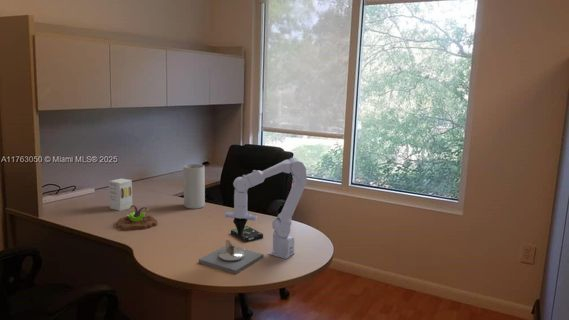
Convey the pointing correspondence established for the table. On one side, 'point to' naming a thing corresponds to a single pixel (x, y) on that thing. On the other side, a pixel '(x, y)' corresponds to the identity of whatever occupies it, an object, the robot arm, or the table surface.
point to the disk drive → (247, 234)
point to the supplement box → (120, 194)
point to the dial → (231, 253)
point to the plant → (136, 220)
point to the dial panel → (233, 266)
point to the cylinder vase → (194, 186)
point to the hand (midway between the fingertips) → (240, 234)
